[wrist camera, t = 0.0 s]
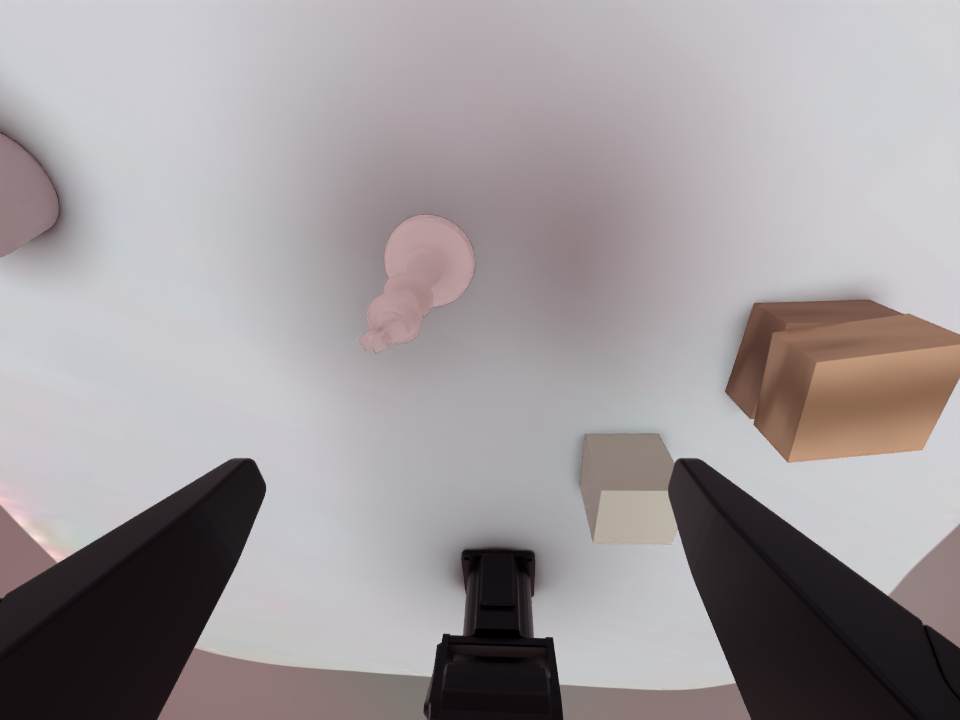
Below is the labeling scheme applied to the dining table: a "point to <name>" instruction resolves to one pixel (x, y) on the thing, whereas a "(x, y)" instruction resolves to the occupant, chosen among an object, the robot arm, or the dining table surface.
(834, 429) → the tower top
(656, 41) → the dining table surface
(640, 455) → the cube
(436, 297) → the chess piece
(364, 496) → the dining table surface
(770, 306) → the tower base
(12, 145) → the cup
